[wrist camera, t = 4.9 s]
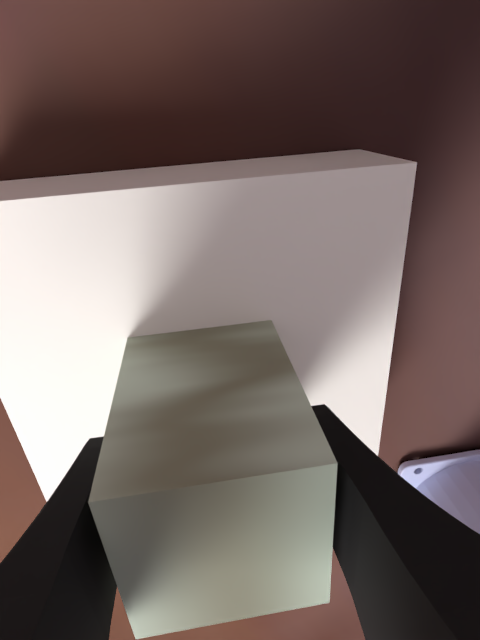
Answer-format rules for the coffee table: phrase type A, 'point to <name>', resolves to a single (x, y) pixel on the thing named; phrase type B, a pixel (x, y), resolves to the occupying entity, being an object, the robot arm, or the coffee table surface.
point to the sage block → (213, 481)
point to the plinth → (198, 281)
